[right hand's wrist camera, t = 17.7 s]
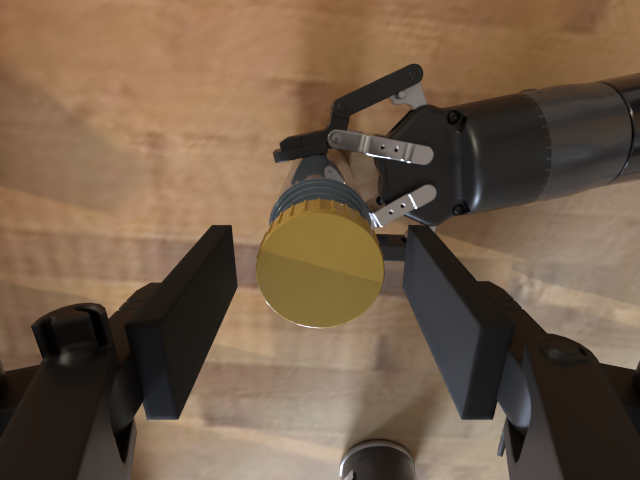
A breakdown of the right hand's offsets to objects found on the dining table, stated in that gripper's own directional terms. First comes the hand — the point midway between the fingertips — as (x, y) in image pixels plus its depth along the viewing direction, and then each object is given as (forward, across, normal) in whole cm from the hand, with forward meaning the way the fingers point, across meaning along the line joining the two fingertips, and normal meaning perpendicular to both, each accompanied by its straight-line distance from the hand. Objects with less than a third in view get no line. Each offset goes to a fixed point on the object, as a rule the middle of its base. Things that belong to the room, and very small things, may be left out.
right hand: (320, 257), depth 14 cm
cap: (-1, 0, 0) cm, 1 cm away
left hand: (+12, -2, 0) cm, 12 cm away
